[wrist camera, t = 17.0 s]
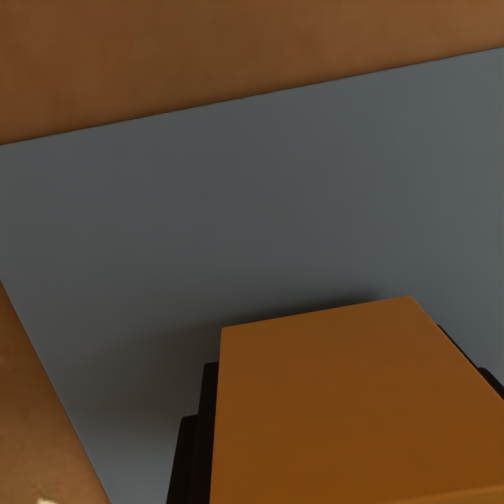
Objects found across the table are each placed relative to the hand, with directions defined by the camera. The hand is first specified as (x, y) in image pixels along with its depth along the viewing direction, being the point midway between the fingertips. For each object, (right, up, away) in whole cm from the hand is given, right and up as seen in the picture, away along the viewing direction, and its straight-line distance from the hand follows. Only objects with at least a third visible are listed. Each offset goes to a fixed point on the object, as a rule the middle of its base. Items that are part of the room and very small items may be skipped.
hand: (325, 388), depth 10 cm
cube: (0, 0, 0) cm, 0 cm away
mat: (0, 0, +1) cm, 1 cm away
